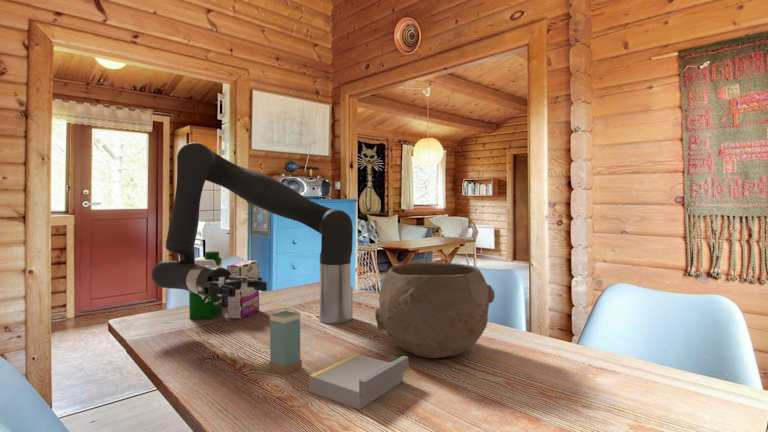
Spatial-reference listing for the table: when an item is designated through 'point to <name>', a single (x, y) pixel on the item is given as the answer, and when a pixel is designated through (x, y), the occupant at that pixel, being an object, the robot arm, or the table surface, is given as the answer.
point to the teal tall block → (285, 342)
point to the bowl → (434, 307)
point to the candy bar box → (243, 300)
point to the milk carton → (202, 304)
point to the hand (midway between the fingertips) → (250, 289)
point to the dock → (357, 379)
